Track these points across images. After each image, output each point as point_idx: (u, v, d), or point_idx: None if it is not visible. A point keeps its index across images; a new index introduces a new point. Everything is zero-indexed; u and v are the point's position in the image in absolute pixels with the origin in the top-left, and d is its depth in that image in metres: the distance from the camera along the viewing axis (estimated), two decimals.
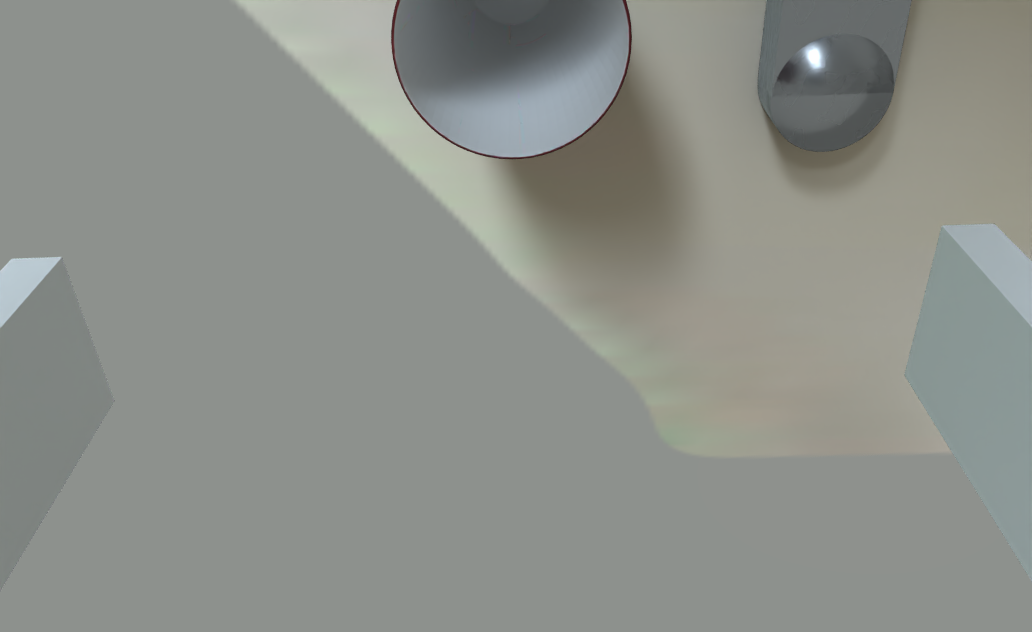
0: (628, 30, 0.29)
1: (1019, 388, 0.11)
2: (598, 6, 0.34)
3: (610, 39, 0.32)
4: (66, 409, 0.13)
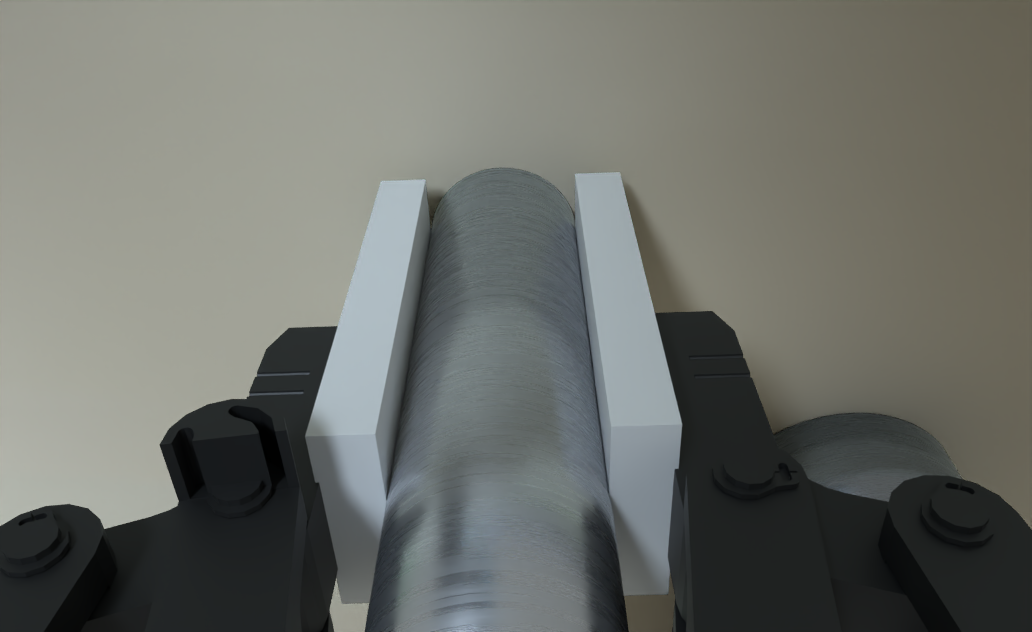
0: None
1: (585, 303, 0.13)
2: None
3: None
4: None
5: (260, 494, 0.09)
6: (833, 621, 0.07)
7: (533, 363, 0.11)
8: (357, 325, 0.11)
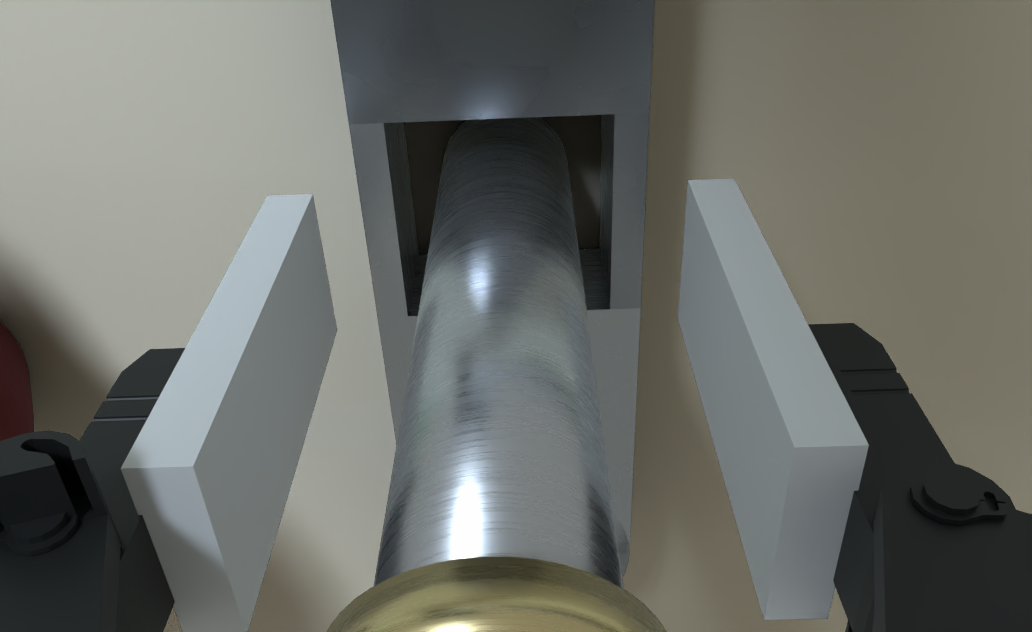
0: None
1: (716, 315, 0.13)
2: None
3: None
4: (316, 330, 0.14)
5: (65, 527, 0.09)
6: None
7: (530, 244, 0.13)
8: (204, 349, 0.11)
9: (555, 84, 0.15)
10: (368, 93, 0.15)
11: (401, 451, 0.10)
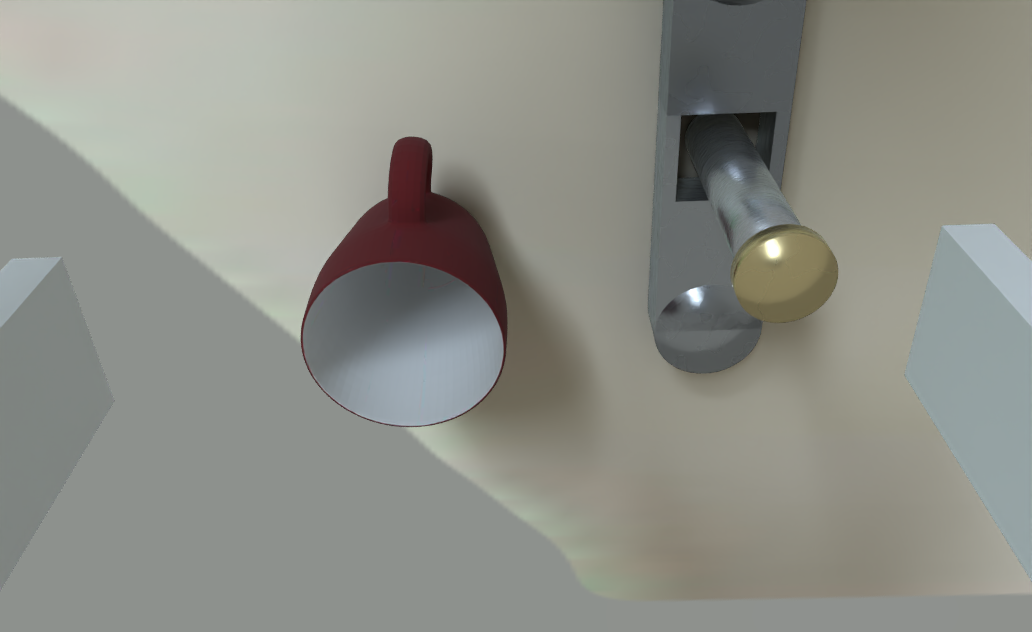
0: (502, 336, 0.34)
1: (1019, 388, 0.11)
2: None
3: None
4: (66, 409, 0.13)
5: None
6: None
7: (754, 160, 0.35)
8: None
9: (754, 99, 0.37)
10: (677, 103, 0.37)
11: (734, 218, 0.32)
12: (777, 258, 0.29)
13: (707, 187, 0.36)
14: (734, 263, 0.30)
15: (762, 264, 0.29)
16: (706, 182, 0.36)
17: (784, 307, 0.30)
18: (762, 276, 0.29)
